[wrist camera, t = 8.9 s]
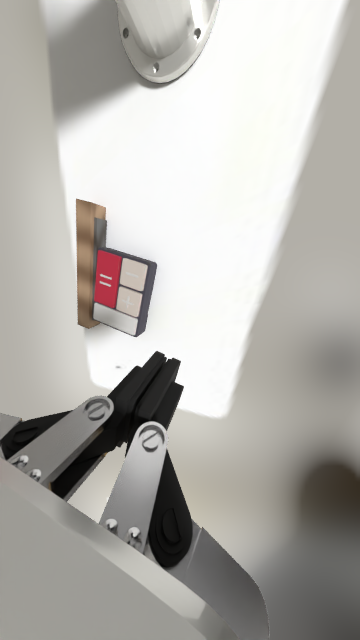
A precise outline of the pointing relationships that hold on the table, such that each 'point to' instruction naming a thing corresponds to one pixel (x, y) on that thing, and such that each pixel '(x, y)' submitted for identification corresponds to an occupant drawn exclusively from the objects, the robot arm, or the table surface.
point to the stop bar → (88, 256)
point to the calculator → (123, 290)
